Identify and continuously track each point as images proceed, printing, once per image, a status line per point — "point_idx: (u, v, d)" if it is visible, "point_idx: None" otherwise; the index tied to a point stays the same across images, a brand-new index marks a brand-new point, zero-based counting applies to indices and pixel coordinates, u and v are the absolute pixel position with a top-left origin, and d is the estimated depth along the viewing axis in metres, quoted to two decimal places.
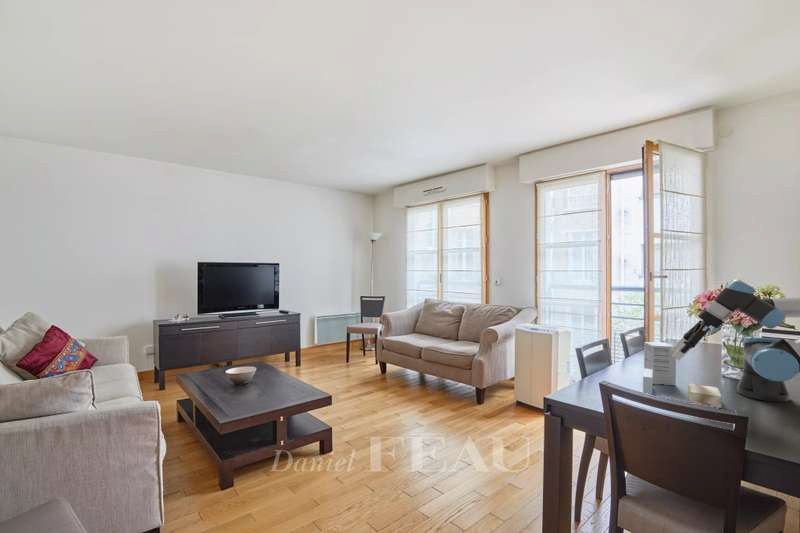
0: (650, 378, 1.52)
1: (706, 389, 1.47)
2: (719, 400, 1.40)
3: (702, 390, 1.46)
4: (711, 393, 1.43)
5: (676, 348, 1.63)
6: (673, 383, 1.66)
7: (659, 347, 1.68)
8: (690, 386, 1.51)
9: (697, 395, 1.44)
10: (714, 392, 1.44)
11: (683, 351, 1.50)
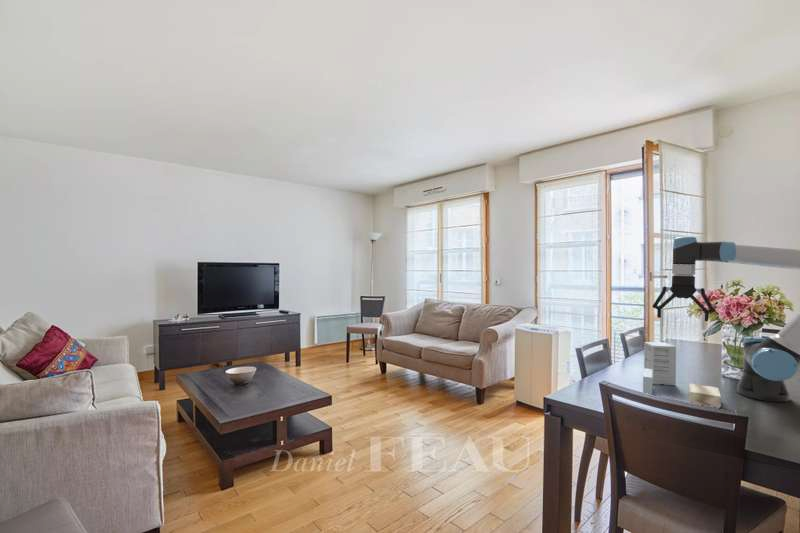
0: (650, 378, 1.52)
1: (706, 389, 1.47)
2: (719, 400, 1.40)
3: (702, 390, 1.46)
4: (710, 393, 1.43)
5: (701, 325, 1.54)
6: (673, 383, 1.66)
7: (659, 347, 1.68)
8: (690, 386, 1.51)
9: (696, 394, 1.44)
10: (714, 392, 1.44)
11: (657, 315, 1.61)
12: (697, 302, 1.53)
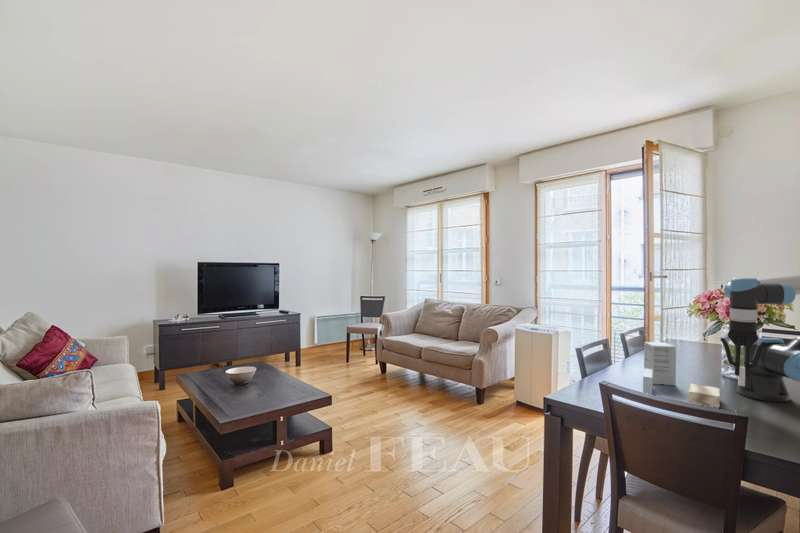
0: (650, 378, 1.52)
1: (706, 389, 1.47)
2: (717, 400, 1.40)
3: (702, 390, 1.46)
4: (710, 393, 1.43)
5: None
6: (673, 383, 1.66)
7: (659, 347, 1.68)
8: (691, 386, 1.51)
9: (695, 394, 1.44)
10: (713, 392, 1.44)
11: (735, 373, 1.42)
12: (747, 353, 1.39)
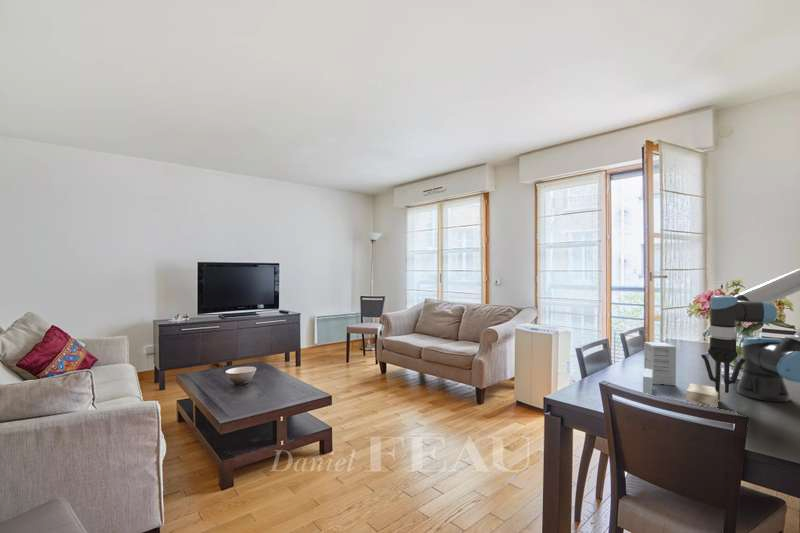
0: (650, 378, 1.52)
1: (705, 389, 1.47)
2: (715, 400, 1.40)
3: (700, 389, 1.47)
4: (708, 393, 1.43)
5: None
6: (673, 383, 1.66)
7: (659, 347, 1.68)
8: (690, 385, 1.51)
9: (693, 394, 1.45)
10: (712, 392, 1.44)
11: (715, 389, 1.45)
12: (727, 370, 1.42)
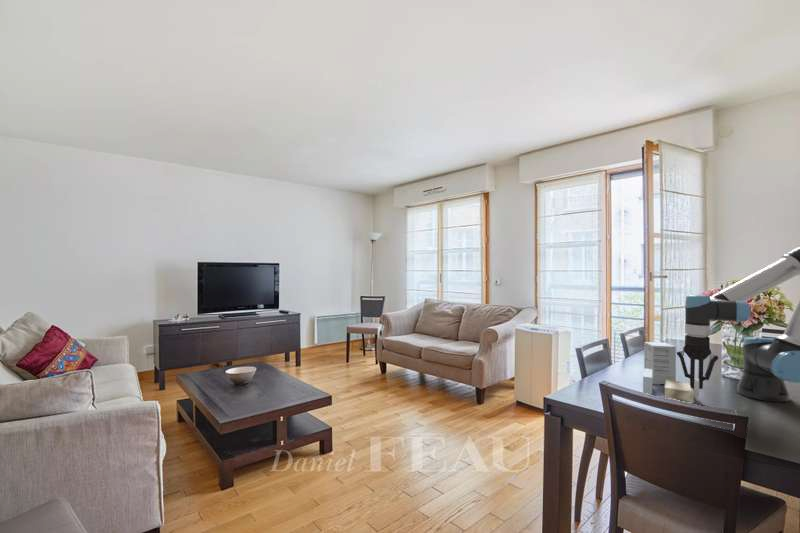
0: (650, 378, 1.52)
1: (681, 385, 1.52)
2: (692, 395, 1.45)
3: (677, 386, 1.51)
4: (684, 389, 1.47)
5: None
6: None
7: (659, 347, 1.68)
8: (666, 382, 1.56)
9: (670, 390, 1.48)
10: (688, 388, 1.48)
11: (690, 385, 1.49)
12: (701, 367, 1.47)
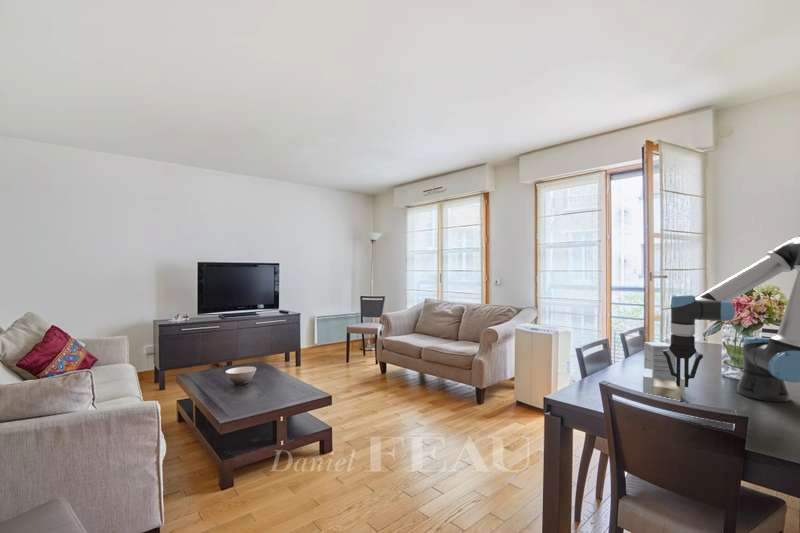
0: (650, 378, 1.52)
1: (668, 383, 1.54)
2: (679, 393, 1.47)
3: (664, 384, 1.53)
4: (671, 387, 1.50)
5: None
6: None
7: (659, 347, 1.68)
8: (653, 380, 1.58)
9: (658, 388, 1.51)
10: (675, 386, 1.51)
11: (676, 383, 1.52)
12: (686, 365, 1.49)
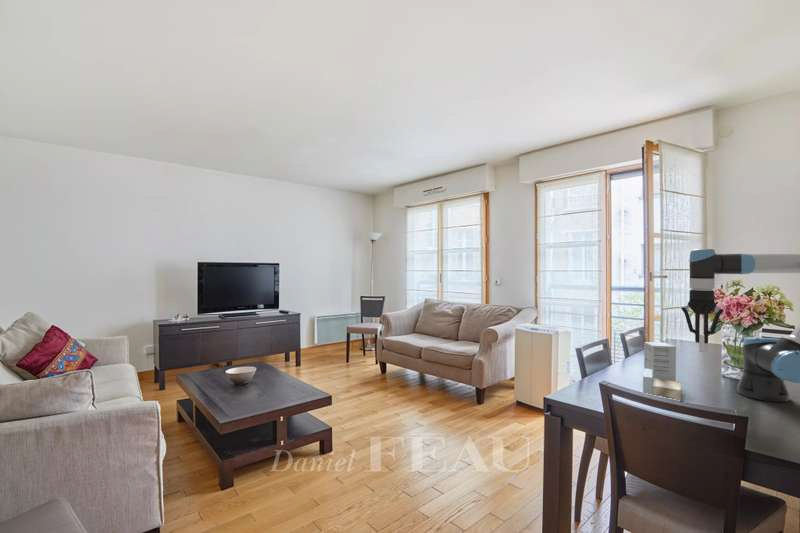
0: (650, 378, 1.52)
1: (668, 383, 1.54)
2: (679, 393, 1.47)
3: (664, 384, 1.53)
4: (671, 387, 1.50)
5: None
6: None
7: (659, 347, 1.68)
8: (654, 380, 1.58)
9: (658, 388, 1.51)
10: (675, 386, 1.51)
11: (695, 340, 1.48)
12: (706, 321, 1.46)
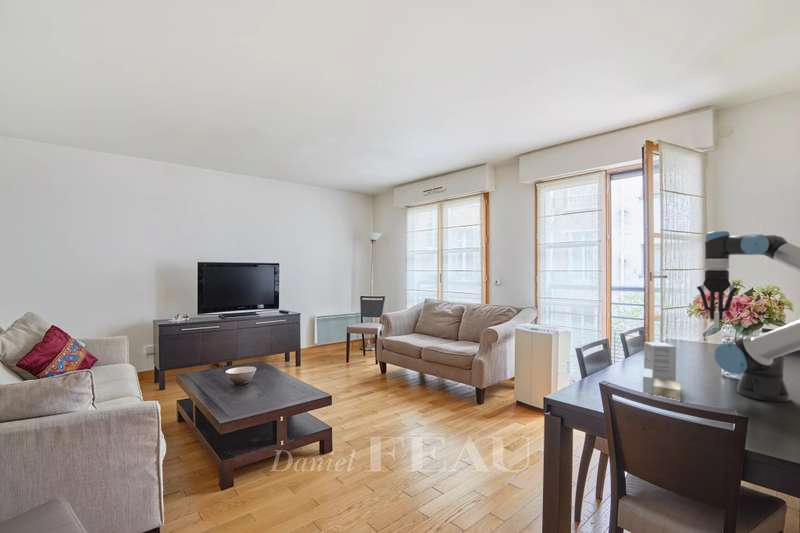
0: (650, 378, 1.52)
1: (668, 383, 1.54)
2: (679, 393, 1.47)
3: (664, 384, 1.53)
4: (671, 387, 1.50)
5: None
6: None
7: (659, 347, 1.68)
8: (654, 380, 1.58)
9: (658, 388, 1.51)
10: (675, 386, 1.51)
11: (710, 317, 1.58)
12: (720, 299, 1.56)
